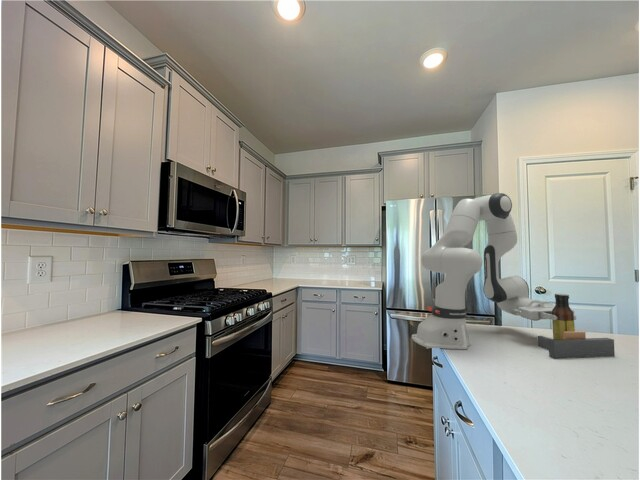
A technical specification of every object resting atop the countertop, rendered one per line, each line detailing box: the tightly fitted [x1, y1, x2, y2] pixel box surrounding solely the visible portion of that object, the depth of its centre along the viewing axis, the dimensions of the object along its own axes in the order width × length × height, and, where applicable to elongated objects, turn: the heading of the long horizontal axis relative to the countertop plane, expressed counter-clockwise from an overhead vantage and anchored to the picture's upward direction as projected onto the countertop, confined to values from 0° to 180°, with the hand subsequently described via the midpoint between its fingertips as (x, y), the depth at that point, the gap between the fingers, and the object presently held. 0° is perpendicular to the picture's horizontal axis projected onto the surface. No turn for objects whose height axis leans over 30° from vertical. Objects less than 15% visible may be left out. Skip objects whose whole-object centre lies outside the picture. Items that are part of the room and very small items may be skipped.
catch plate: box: [563, 330, 587, 339], centre depth 95 cm, size 8×1×7 cm, turn 96°
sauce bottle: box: [551, 293, 576, 339], centre depth 99 cm, size 7×6×20 cm
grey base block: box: [537, 335, 616, 360], centre depth 98 cm, size 24×12×6 cm, turn 96°
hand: (565, 317), depth 99 cm, fingers closed on sauce bottle, 6 cm apart
